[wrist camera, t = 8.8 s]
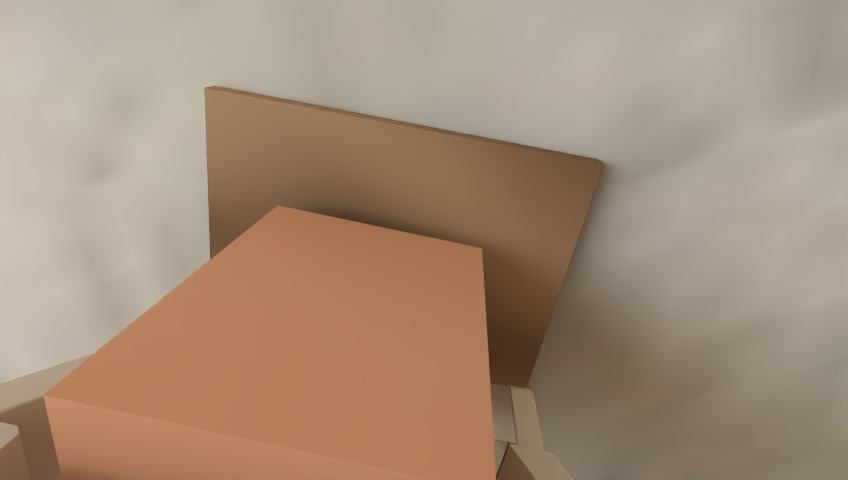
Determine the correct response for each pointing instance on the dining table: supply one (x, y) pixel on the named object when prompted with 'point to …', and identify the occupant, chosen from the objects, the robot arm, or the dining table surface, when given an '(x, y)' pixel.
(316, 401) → the salmon orange rectangular block
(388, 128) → the base plate with peg
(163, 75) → the dining table surface
